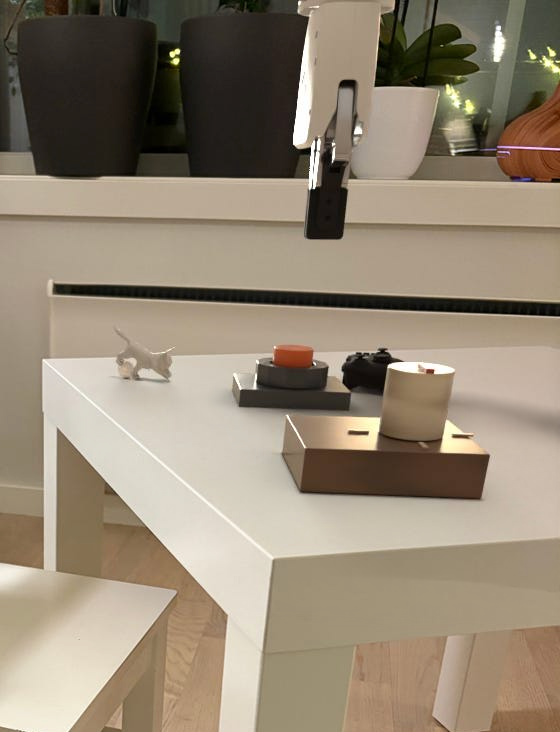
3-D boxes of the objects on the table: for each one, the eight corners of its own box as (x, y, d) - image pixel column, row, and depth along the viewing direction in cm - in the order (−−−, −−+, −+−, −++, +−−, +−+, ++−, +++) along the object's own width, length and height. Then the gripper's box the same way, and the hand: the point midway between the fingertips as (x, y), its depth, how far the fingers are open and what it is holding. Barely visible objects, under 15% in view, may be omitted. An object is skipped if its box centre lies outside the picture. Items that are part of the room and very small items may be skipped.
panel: (445, 459, 74) (452, 417, 72) (486, 498, 65) (495, 452, 63) (281, 453, 74) (286, 412, 73) (299, 491, 65) (305, 445, 64)
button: (308, 364, 92) (310, 345, 92) (314, 371, 89) (316, 351, 88) (270, 363, 93) (272, 344, 92) (274, 369, 89) (276, 350, 89)
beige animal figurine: (144, 406, 99) (181, 365, 97) (88, 351, 99) (123, 308, 96) (153, 400, 102) (188, 360, 99) (98, 346, 102) (132, 305, 99)
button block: (334, 393, 96) (338, 357, 94) (349, 411, 88) (354, 372, 87) (232, 390, 96) (235, 354, 95) (238, 407, 89) (242, 368, 87)
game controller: (420, 386, 93) (364, 340, 93) (383, 427, 96) (328, 382, 96) (422, 370, 101) (370, 327, 101) (388, 408, 104) (337, 366, 104)
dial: (371, 425, 70) (381, 356, 68) (432, 427, 70) (445, 358, 68) (386, 440, 66) (397, 368, 64) (451, 442, 66) (464, 370, 64)
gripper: (288, 5, 84) (270, 234, 92) (313, -28, 71) (290, 243, 79) (376, 5, 84) (350, 235, 92) (418, -29, 70) (384, 244, 78)
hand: (322, 238), depth 85 cm, fingers closed
